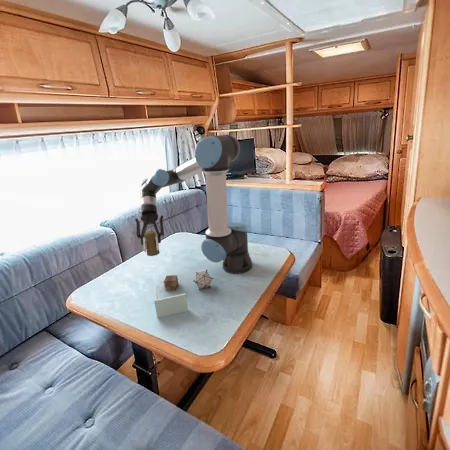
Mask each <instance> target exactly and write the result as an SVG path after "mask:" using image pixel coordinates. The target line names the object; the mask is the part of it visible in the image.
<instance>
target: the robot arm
mask: <svg viewBox="0 0 450 450" xmlns="http://www.w3.org/2000/svg"><path fill="white" fill-rule="evenodd" d="M240 152H241V145H240V142H239V141H238V139H237V138H236V137H235V136H232V135H230V134H221V135H220V134H219V135H208V136H205V137H202V138H200V139H199V141H198V142H197V143H196V145H195V147H194V153H193V155H194V157H193V158H192V159H190V160H188V161H186V162H184V163H182V164H181V165H178V166H176V167H175V168H173V169H170V170H165V169H162V168H158V169H156V170H155V171H154V172H153V173H152V174H151V175H150V177H149V178H145V179H142V180H141V181H140V186H139V188H140V207H141V211H140V212H141V216H140V217H139V218H135V222H136V237H137V239H140V244H141V246H143V252H144V253H147V245H146V239H145V237H144V235H145V233H146V232H147V228H148V225H149V226H150V225H152V226H153V227H154V230H155V234H156V237H155V239H156V247H157V250H159V251H160V244H161V241H162V239H161V237H162V236H165V230H164V228H165V227H164V220H165V218H164V215H159V214H158V206H157V205H158V204H157V193H159V192H160V191H161V190H162V188H166V187H170V186H173V185H176V184H181V183H183V182H185V181H186V180H187V179H190V178H191V177H194V176H196V175H198V174H201V173H203V174H204V177H205V190H206V205H207V207H206V208H207V223H208V228H207V229H206V230H205V239H204V240H203V241H202V243H201V245H200V246H201V247H200V248H201V251H202V255H204V256H205V258H206V259H207V260H208V261H210V262H212V263H220V262H222V270H224V272H226V273H230V274H243V273H247V272H248V271H251V270H252V268H253V261H252V258H251V256H250V253H249V245H248V244H249V243H248V229H247V228H248V227H247V225H246V224H245V223H242V222H228V221H229V218H228V197H227V196H228V195H227V194H228V192H227V173H228V172H229V171H230V163H231V162H232V163H233V162H234V161H235V160H236V159H237V158H238V157H239V155H240ZM157 220H158V221H159V225H160V230H159V229H158V228H159V227H158V225H157V223H156V222H157ZM142 222H143V225H142V230H141V223H142Z"/></svg>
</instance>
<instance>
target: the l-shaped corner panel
mask: <svg viewBox="0 0 450 450" xmlns="http://www.w3.org/2000/svg"><path fill="white" fill-rule="evenodd" d="M152 291H153V300H154V301H153V303H154V307H155V314H156V318H157V319H158V318H163V317H168V316H172V315H175V314H176V315H177V314H181V313H185V312H188V311H189V309H188V308H189V307H188V300H187V294H186V293H181V294H176V295H171V296H167V297H163V298H158V291H157V287H156V285H153V286H152Z"/></svg>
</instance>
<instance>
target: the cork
mask: <svg viewBox="0 0 450 450" xmlns="http://www.w3.org/2000/svg"><path fill="white" fill-rule="evenodd" d="M156 236H157V233H156V231H154V230H150V231H146V233H145V235H144V237H145V239H146V255H147V256H148V257H155V256H157V255H159V254H160V253H161V252H160V249H159V250H157V247H156Z"/></svg>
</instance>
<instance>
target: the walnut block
mask: <svg viewBox="0 0 450 450" xmlns="http://www.w3.org/2000/svg"><path fill="white" fill-rule="evenodd" d="M163 283H164V290H165V291H166V292H167V291H177V289H178V287H179V278H178V275H177V274H173V275H166V276H165V278H164V280H163Z"/></svg>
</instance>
